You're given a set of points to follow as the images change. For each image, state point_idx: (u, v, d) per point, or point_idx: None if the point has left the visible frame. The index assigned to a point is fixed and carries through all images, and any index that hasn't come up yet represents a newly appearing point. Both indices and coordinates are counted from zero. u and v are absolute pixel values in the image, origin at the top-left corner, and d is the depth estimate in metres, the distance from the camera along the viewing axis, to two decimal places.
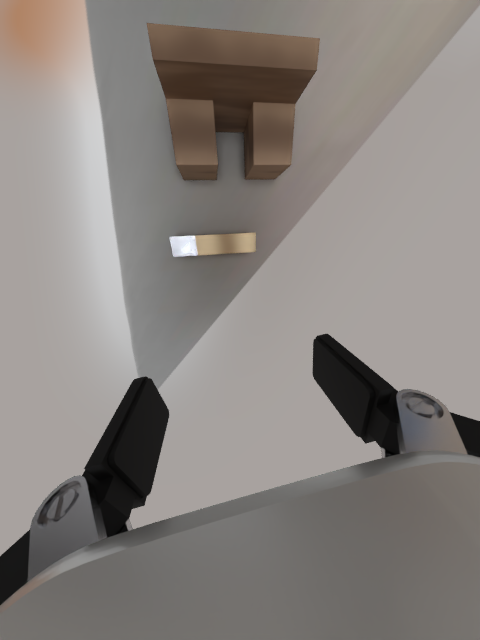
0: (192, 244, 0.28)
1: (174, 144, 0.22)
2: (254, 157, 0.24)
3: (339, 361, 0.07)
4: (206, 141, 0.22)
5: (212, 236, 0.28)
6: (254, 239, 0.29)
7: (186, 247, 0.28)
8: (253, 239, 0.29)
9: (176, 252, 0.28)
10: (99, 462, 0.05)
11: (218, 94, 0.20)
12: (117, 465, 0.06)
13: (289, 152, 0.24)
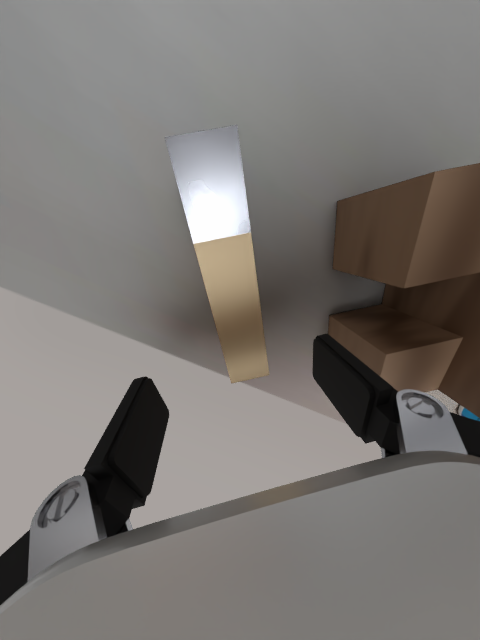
0: (223, 223, 0.09)
1: (474, 168, 0.08)
2: (395, 353, 0.13)
3: (339, 361, 0.07)
4: (447, 260, 0.10)
5: (253, 285, 0.10)
6: (256, 375, 0.13)
7: (210, 200, 0.08)
8: (255, 374, 0.13)
9: (183, 153, 0.07)
10: (99, 462, 0.05)
11: None
12: (117, 465, 0.06)
13: None
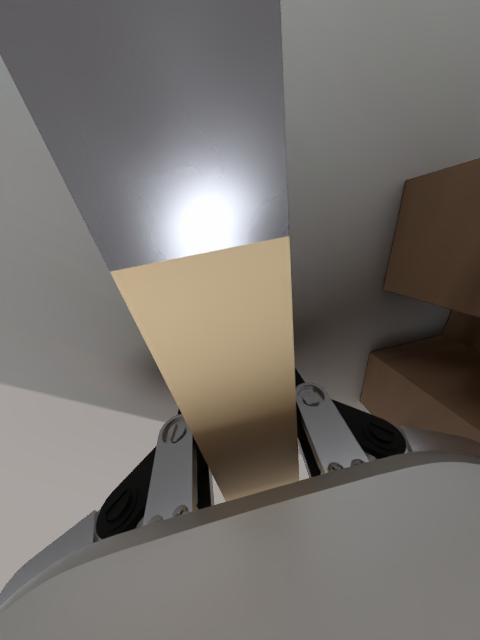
0: (202, 208, 0.03)
1: None
2: None
3: None
4: None
5: (284, 364, 0.04)
6: None
7: (148, 113, 0.02)
8: None
9: None
10: None
11: None
12: None
13: None
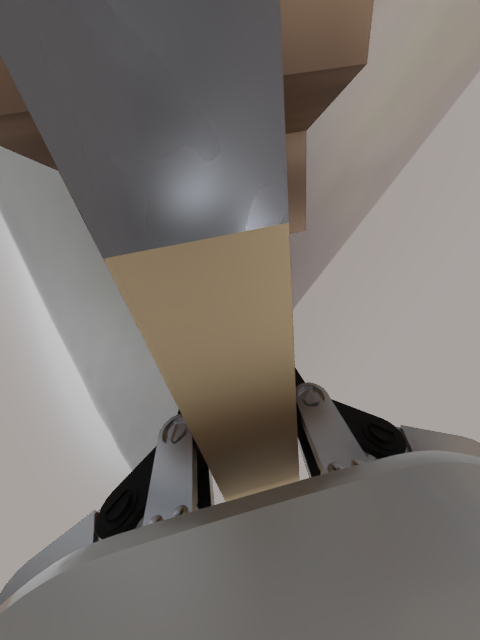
0: (199, 191, 0.02)
1: None
2: None
3: None
4: None
5: (283, 357, 0.04)
6: None
7: (142, 88, 0.02)
8: None
9: None
10: None
11: None
12: None
13: (301, 212, 0.14)
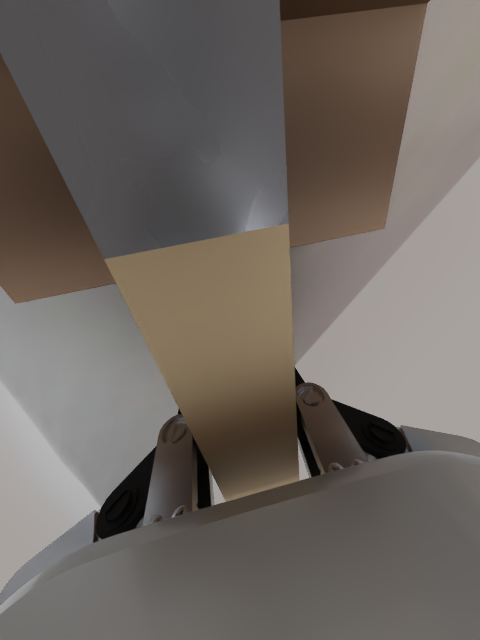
0: (198, 193, 0.02)
1: None
2: None
3: None
4: None
5: (283, 357, 0.04)
6: None
7: (143, 91, 0.02)
8: None
9: None
10: None
11: None
12: None
13: (383, 195, 0.07)
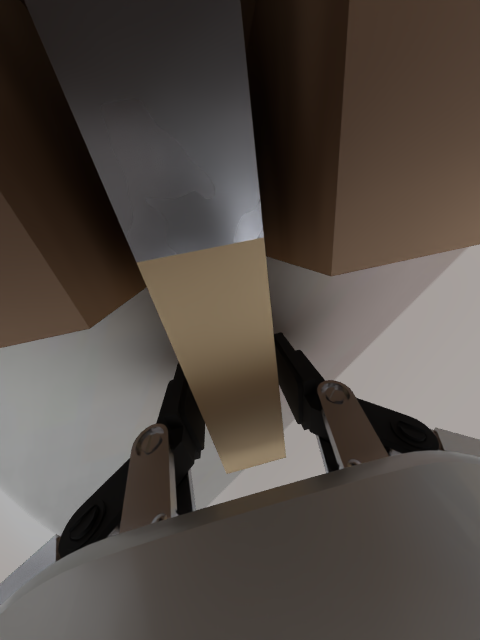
0: (201, 218, 0.04)
1: None
2: (339, 234, 0.03)
3: (282, 357, 0.08)
4: None
5: (265, 337, 0.05)
6: (265, 460, 0.08)
7: (166, 158, 0.03)
8: (265, 458, 0.08)
9: (72, 3, 0.02)
10: (175, 412, 0.06)
11: None
12: (186, 417, 0.07)
13: None
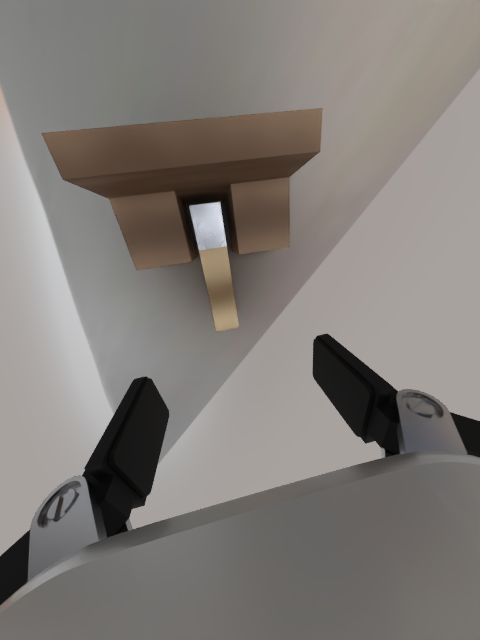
0: (213, 241, 0.18)
1: (130, 248, 0.16)
2: (239, 246, 0.18)
3: (339, 361, 0.07)
4: (173, 238, 0.16)
5: (228, 272, 0.20)
6: (231, 327, 0.23)
7: (207, 231, 0.18)
8: (231, 326, 0.22)
9: (196, 211, 0.17)
10: (99, 462, 0.05)
11: (179, 186, 0.14)
12: (117, 465, 0.06)
13: (286, 233, 0.18)
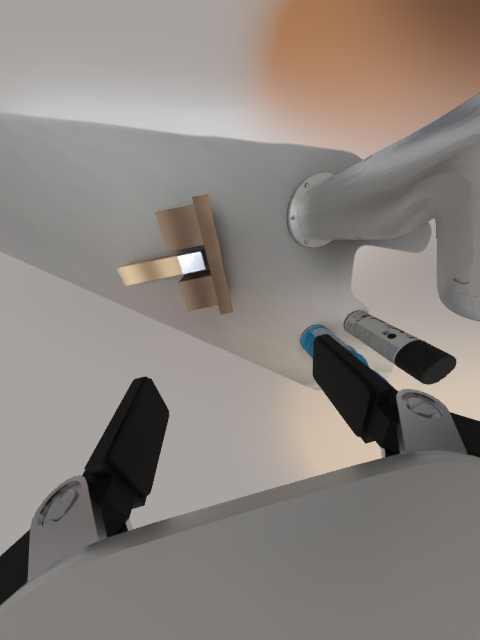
0: (183, 265, 0.30)
1: (168, 210, 0.25)
2: (183, 282, 0.30)
3: (339, 361, 0.07)
4: (180, 241, 0.27)
5: (166, 275, 0.30)
6: (123, 279, 0.29)
7: (189, 262, 0.29)
8: (124, 279, 0.29)
9: (198, 255, 0.29)
10: (99, 462, 0.05)
11: None
12: (117, 465, 0.06)
13: (194, 307, 0.32)
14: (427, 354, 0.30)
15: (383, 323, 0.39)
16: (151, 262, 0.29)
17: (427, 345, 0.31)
